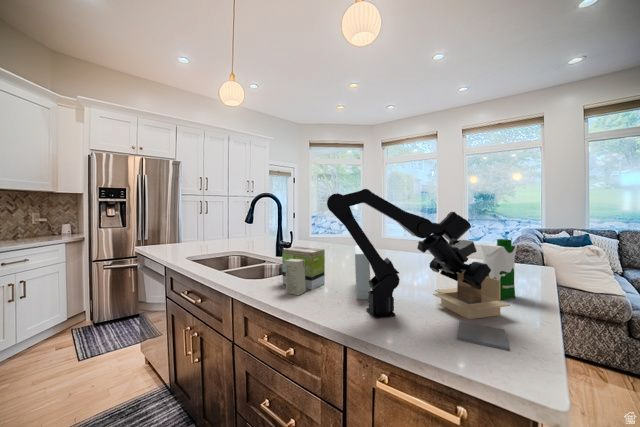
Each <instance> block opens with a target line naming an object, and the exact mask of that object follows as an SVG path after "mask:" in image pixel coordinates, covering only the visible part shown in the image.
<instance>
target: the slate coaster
mask: <svg viewBox="0 0 640 427" xmlns="http://www.w3.org/2000/svg"><path fill="white" fill-rule="evenodd" d="M457 327H458V329H457V335H456V340H459V341H464V342H469V343H472V344H478V345H482V346H485V347H486V346H487V347H490V348H491V347H492V348H495V349H496V348H497V349H500V350H506V351H509V350H510V345H509V342H508V338H507V334H506V330H505V328H499V327H494V326H493V327H492V326H487V325H482V324H476V323H472V322H471V323H470V322H466V321H462V320H461V321H460V320H459V321H458V326H457Z"/></svg>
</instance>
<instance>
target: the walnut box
mask: <svg viewBox="0 0 640 427" xmlns="http://www.w3.org/2000/svg"><path fill="white" fill-rule="evenodd" d="M463 274H464V272H462V273H461V274H459V273H457V281H456V282H457V283H456V284H457V285H456V286H457V287H456V288H457V299H458V300H460V301H463V302H465V303H467V304H475V303H481V291H482V288H481V289H480V290H479V289H476V288H474V287H472V286H470V285H468V284H466V283H464V282H462V281H463V279H464V278H463ZM481 286H482V283H481Z"/></svg>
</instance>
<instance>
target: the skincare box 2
mask: <svg viewBox="0 0 640 427" xmlns="http://www.w3.org/2000/svg"><path fill="white" fill-rule="evenodd" d="M354 247H355V250H354V251H355V252H354V265H355V266H354V267H355V268H354V269H355V273H354V274H355V289H356V290H355V291H356V293H355V294H356V300H366V301H367V300H368V301H369V291H372V289H371V287H370V284H369V281H370V280H371V271H370V270H371V269H370V268H371V265H370V262H369V261H368V259H367V258H366V256H365V255H364V253H363V252H362V250H361V249H360V247H359V246H358V245H357V244H356V245H355V246H354Z"/></svg>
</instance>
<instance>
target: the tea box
mask: <svg viewBox="0 0 640 427" xmlns="http://www.w3.org/2000/svg"><path fill="white" fill-rule="evenodd" d="M325 251H326V250H325V249H324V248H323V249H322V248H314V247H313V248H312V247H305V246H293V247H288V248H285V249H282V252H281V253H282V255H281V258H282V259H281V260H282V261H281V262H282V266H281V267H282V268H281V270H282V271H281V272H282V273H281V274H282V276H281V277H282V284H283V285H286V269H285V260H289V259H300V260H305V286H306V290H310V291H312V290H314V289H317V288H319V287H321V286H323V285H324V284H325V280H326V279H325V277H326V274H325V272H326V271H325V270H326V269H325V268H326V267H325V261H326V258H325V255H326V254H325Z"/></svg>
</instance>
